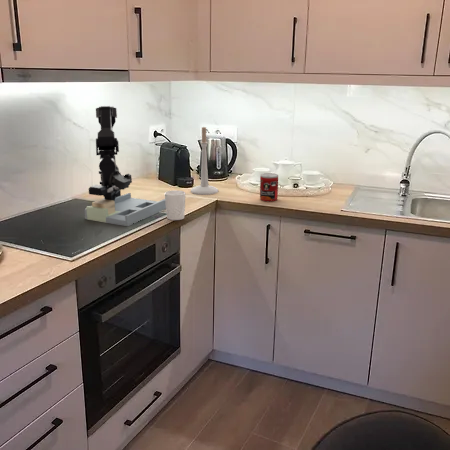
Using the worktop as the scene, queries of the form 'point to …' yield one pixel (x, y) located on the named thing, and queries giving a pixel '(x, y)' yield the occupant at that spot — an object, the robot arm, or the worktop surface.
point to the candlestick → (204, 172)
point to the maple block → (105, 205)
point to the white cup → (175, 204)
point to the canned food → (269, 187)
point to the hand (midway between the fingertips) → (111, 207)
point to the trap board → (125, 210)
